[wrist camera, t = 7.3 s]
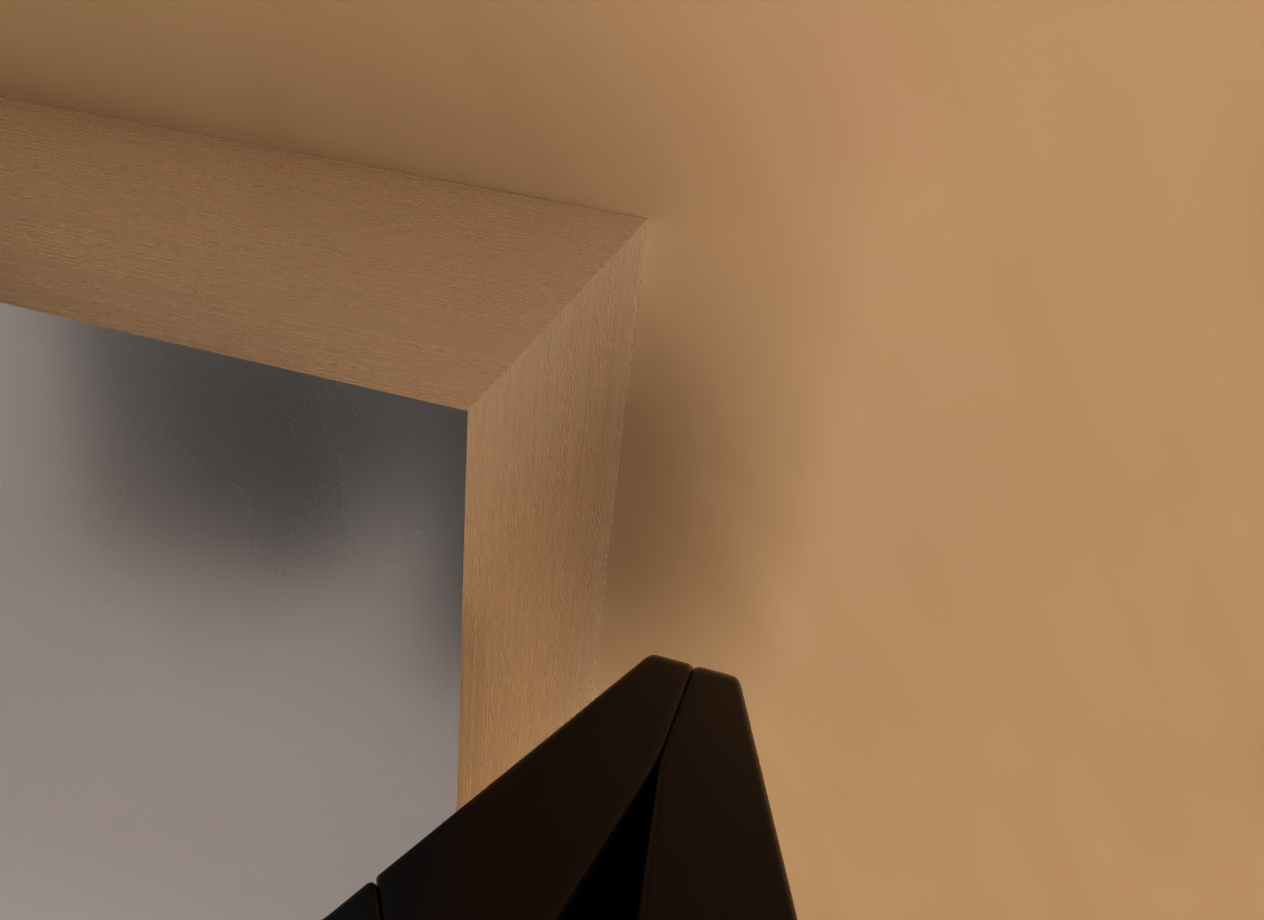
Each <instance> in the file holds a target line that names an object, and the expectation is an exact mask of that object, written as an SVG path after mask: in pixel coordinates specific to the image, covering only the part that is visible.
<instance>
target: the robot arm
mask: <svg viewBox="0 0 1264 920" xmlns="http://www.w3.org/2000/svg"><path fill="white" fill-rule="evenodd" d="M322 920H797V915H796V911H795V907H794V903H793V899H792V895H791V891H790V886H789V882H788V878H787V874H786V870H785V866H784V862H783V858H782V853H781V849H780V845H779V841H778V837H777V833H776V829H775V825H774V820H773V816H772V812H771V808H770V804H769V800H768V796H767V792H766V787H765V783H764V779H763V775H762V771H761V767H760V763H759V758H758V754H757V750H756V746H755V742H754V738H753V734H752V730H751V725H750V721H749V717H748V713H747V709H746V705H745V701H744V697H743V692H742V688H741V685H740V683H739V681H738V679H737V678H736V677H734V676H732V675H728V674H724V673H721V672H717V671H713V670H710V669H706V668H702V667H697V668H695V669H694V670H693V667H692V666H691V665H690V664H687V663H684V662H680V661H676V660H673V659H669V658H665V657H661V656H658V655H652V656H648V657H647V658H645V659H644V660H643V661H641V662H640V663H639V664H638V665H637V666H635V667H634V668H633V669H632V670H630V671H629V672H628V673H627V674H625V675H624V676H623V677H622V678H620V679H619V680H618V681H617V682H616V683H614V684H613V685H612V686H611V687H609V688H608V689H607V690H606V691H604V692H603V693H602V694H601V695H600V696H598V697H597V698H596V699H595V700H593V701H592V702H591V703H590V704H588V705H587V706H586V707H585V708H583V709H582V710H581V711H580V712H579V713H577V714H576V715H575V716H574V717H572V718H571V719H570V720H569V721H567V722H566V723H565V724H564V725H563V726H561V727H560V728H559V729H558V730H556V731H555V732H554V733H553V734H551V735H550V736H549V737H548V738H546V739H545V740H544V741H543V742H542V743H540V744H539V745H538V746H537V747H535V748H534V749H533V750H532V751H530V752H529V753H528V754H527V755H526V756H524V757H523V758H522V759H521V760H519V761H518V762H517V763H516V764H514V765H513V766H512V767H511V768H510V769H508V770H507V771H506V772H505V773H503V774H502V775H501V776H500V777H498V778H497V779H496V780H495V781H493V782H492V783H491V784H490V785H489V786H487V787H486V788H485V789H484V790H482V791H481V792H480V793H479V794H477V795H476V796H475V797H474V798H473V799H471V800H470V801H469V802H468V803H466V804H465V805H464V806H463V807H461V808H460V809H459V810H458V811H456V812H455V813H454V814H453V815H452V816H450V817H449V818H448V819H447V820H445V821H444V822H443V823H442V824H440V825H439V826H438V827H437V828H436V829H434V830H433V831H432V832H431V833H429V834H428V835H427V836H426V837H424V838H423V839H422V840H421V841H419V842H418V843H417V844H416V845H415V846H413V847H412V848H411V849H410V850H408V851H407V852H406V853H405V854H403V855H402V856H401V857H400V858H399V859H397V860H396V861H395V862H394V863H392V864H391V865H390V866H389V867H387V868H386V869H385V870H384V871H383V872H381V873H380V874H379V875H378V876H377V878H376V884H375V883H373V882H369V883H367V884H366V885H364V886H363V887H362V888H361V889H360V890H358V891H357V892H356V893H355V894H353V895H352V896H351V897H350V898H349V899H347V900H346V901H345V902H344V903H342V904H341V905H340V906H339V907H338V908H336V909H335V910H334V911H333V912H331V913H330V914H329V915H328V916H326V917H325V918H324V919H322Z"/></svg>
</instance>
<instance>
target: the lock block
mask: <svg viewBox="0 0 1264 920" xmlns="http://www.w3.org/2000/svg"><path fill="white" fill-rule="evenodd" d="M647 222H648V219H646V218H640V217H635V216H630V215H625V214H619V213H614V212H609V211H603V210H598V209H593V208H588V207H582V206H577V205H572V204H566V203H561V202H556V201H551V200H545V199H540V198H535V197H529V196H524V195H519V194H514V193H508V192H503V191H498V190H492V189H487V188H482V187H477V186H471V185H466V184H461V183H455V182H450V181H445V180H440V179H434V178H429V177H424V176H419V175H413V174H408V173H403V172H397V171H392V170H387V169H382V168H376V167H371V166H366V165H360V164H355V163H350V162H345V161H339V160H334V159H329V158H323V157H318V156H313V155H308V154H302V153H297V152H292V151H286V150H281V149H276V148H271V147H265V146H260V145H255V144H249V143H244V142H239V141H234V140H228V139H223V138H218V137H212V136H207V135H202V134H197V133H191V132H186V131H181V130H175V129H170V128H165V127H160V126H154V125H149V124H144V123H139V122H133V121H128V120H123V119H117V118H112V117H107V116H102V115H96V114H91V113H86V112H80V111H75V110H70V109H65V108H59V107H54V106H49V105H43V104H38V103H33V102H28V101H22V100H17V99H12V98H6V97H1V96H0V920H322V919H324V918H325V917H326V916H328V915H329V914H330V913H331V912H333V911H334V910H335V909H336V908H338V907H339V906H340V905H341V904H342V903H344V902H345V901H346V900H347V899H349V898H350V897H351V896H352V895H353V894H355V893H356V892H357V891H358V890H360V889H361V888H362V887H363V886H364V885H366V884H367V883H369V882H373V883H375V884H376V878H377V876H378V875H379V874H380V873H381V872H383V871H384V870H385V869H386V868H387V867H389V866H390V865H391V864H392V863H394V862H395V861H396V860H397V859H399V858H400V857H401V856H402V855H403V854H405V853H406V852H407V851H408V850H410V849H411V848H412V847H413V846H415V845H416V844H417V843H418V842H419V841H421V840H422V839H423V838H424V837H426V836H427V835H428V834H429V833H431V832H432V831H433V830H434V829H436V828H437V827H438V826H439V825H440V824H442V823H443V822H444V821H445V820H447V819H448V818H449V817H450V816H452V815H453V814H454V813H455V812H456V811H458V810H459V809H460V808H461V807H463V806H464V805H465V804H466V803H468V802H469V801H470V800H471V799H473V798H474V797H475V796H476V795H477V794H479V793H480V792H481V791H482V790H484V789H485V788H486V787H487V786H489V785H490V784H491V783H492V782H493V781H495V780H496V779H497V778H498V777H500V776H501V775H502V774H503V773H505V772H506V771H507V770H508V769H510V768H511V767H512V766H513V765H514V764H516V763H517V762H518V761H519V760H521V759H522V758H523V757H524V756H526V755H527V754H528V753H529V752H530V751H532V750H533V749H534V748H535V747H537V746H538V745H539V744H540V743H542V742H543V741H544V740H545V739H546V738H548V737H549V736H550V735H551V734H553V733H554V732H555V731H556V730H558V729H559V728H560V727H561V726H563V725H564V724H565V723H566V722H567V721H569V720H570V719H571V718H572V717H574V716H575V715H576V714H577V713H579V712H580V711H581V710H582V709H583V708H585V707H586V706H587V705H588V704H590V703H591V696H592V687H593V679H594V670H595V662H596V653H597V645H598V636H599V628H600V619H601V611H602V602H603V594H604V586H605V577H606V569H607V560H608V552H609V543H610V535H611V526H612V518H613V509H614V501H615V492H616V484H617V476H618V467H619V459H620V450H621V442H622V433H623V425H624V416H625V408H626V399H627V391H628V382H629V374H630V366H631V357H632V349H633V340H634V332H635V323H636V315H637V306H638V298H639V289H640V281H641V272H642V264H643V256H644V247H645V239H646V230H647Z"/></svg>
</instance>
